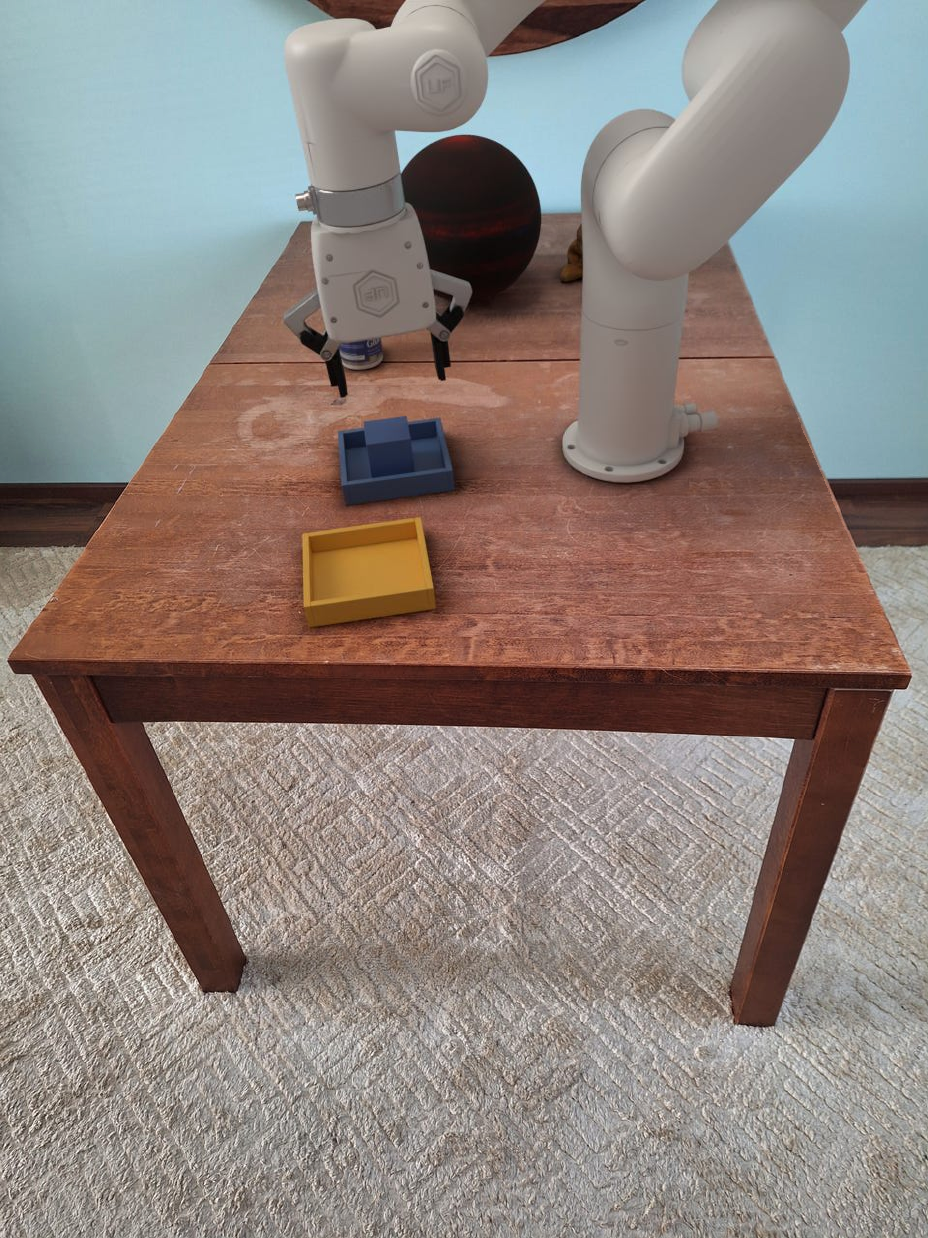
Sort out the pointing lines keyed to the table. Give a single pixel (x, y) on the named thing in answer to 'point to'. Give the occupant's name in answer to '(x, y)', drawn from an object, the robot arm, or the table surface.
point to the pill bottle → (361, 354)
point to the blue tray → (426, 479)
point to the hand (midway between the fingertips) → (392, 382)
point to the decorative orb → (474, 211)
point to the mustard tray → (366, 572)
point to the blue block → (389, 446)
